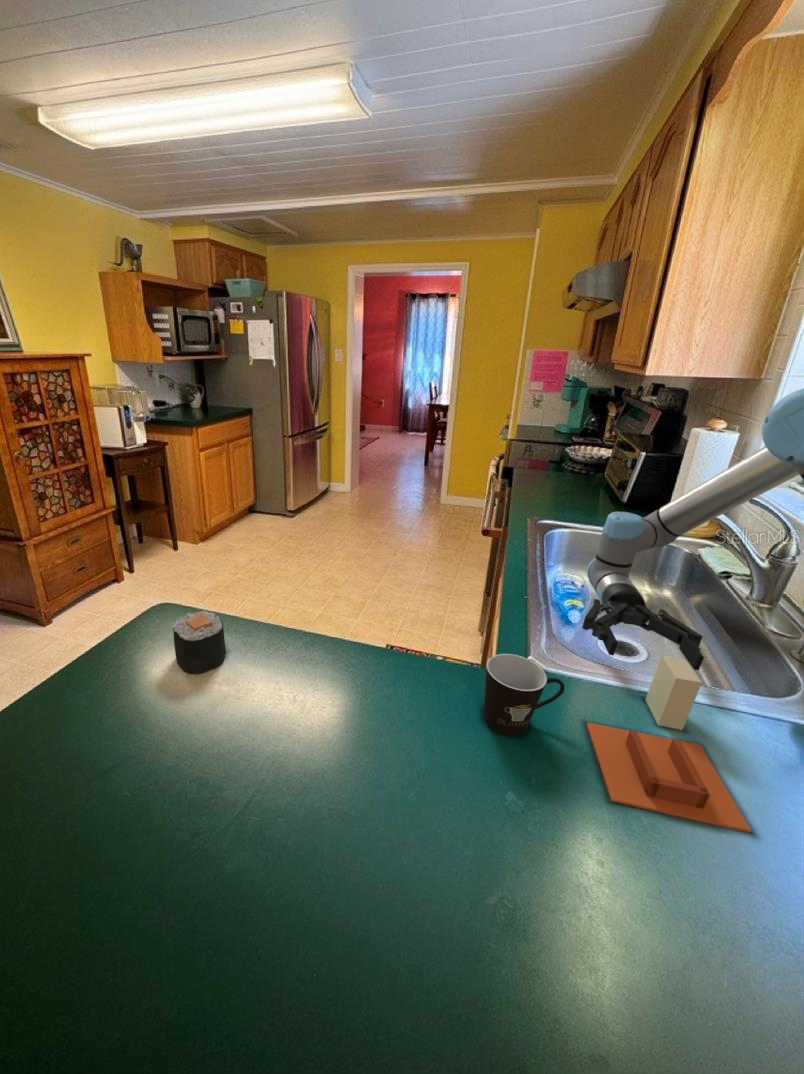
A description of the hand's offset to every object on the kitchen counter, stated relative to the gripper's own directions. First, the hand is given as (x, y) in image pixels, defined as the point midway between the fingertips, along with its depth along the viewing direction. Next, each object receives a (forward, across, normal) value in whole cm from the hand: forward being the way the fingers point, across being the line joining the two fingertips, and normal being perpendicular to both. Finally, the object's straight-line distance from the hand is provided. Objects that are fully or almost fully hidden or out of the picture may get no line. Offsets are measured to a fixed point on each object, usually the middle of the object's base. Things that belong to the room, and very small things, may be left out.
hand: (655, 656), depth 82 cm
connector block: (+8, 0, -7) cm, 10 cm away
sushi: (+16, +78, -7) cm, 80 cm away
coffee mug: (+17, +24, -7) cm, 30 cm away
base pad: (+21, +5, -7) cm, 23 cm away
